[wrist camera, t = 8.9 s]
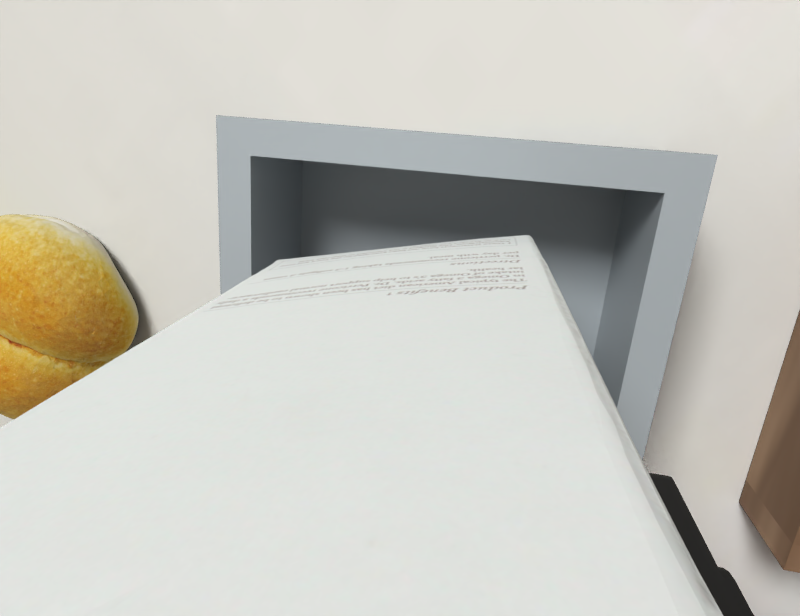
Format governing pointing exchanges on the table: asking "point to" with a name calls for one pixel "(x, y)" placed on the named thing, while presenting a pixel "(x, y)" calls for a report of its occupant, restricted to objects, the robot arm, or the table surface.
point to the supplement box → (346, 457)
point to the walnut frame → (779, 466)
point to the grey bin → (481, 221)
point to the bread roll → (56, 309)
